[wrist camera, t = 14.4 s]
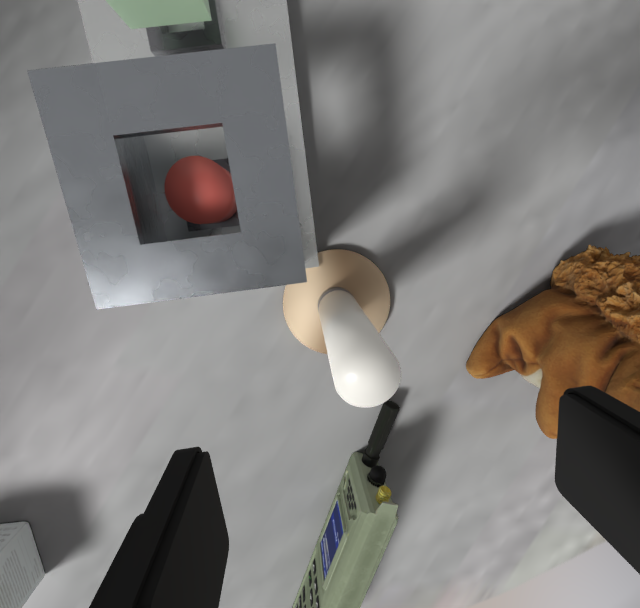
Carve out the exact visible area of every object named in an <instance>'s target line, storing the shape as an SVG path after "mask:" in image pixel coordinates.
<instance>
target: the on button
mask: <svg viewBox="0 0 640 608" xmlns="http://www.w3.org/2000/svg"><path fill="white" fill-rule="evenodd" d="M106 2H107V3H108V4H109V5H110V6H111V7H112V8H113V9H114V11H115V12H116V13H117V14H118V15H119V16H120V17H121V19H122V20H123V21H124V22H125V23H126V24H127V25H128V26H129V28H130V29H138V28H148V27H157V26H166V25H176V24H185V23H194V22H204V21H212V19H211V13H210V7H209V1H208V0H106Z"/></svg>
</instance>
